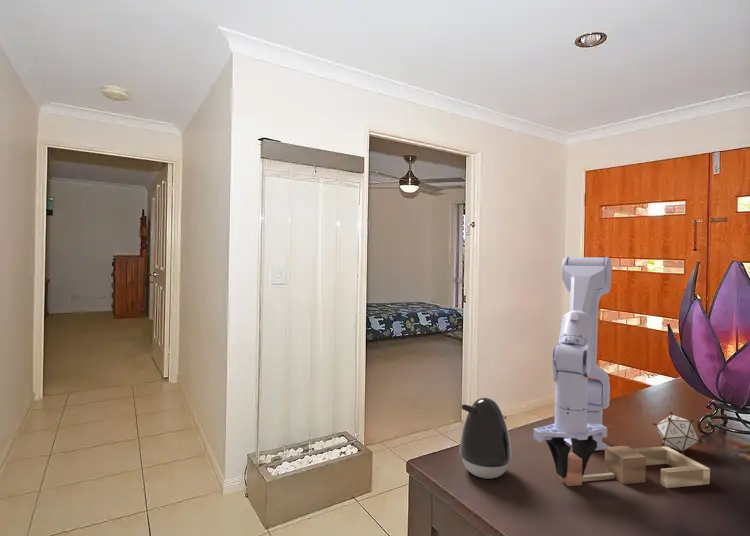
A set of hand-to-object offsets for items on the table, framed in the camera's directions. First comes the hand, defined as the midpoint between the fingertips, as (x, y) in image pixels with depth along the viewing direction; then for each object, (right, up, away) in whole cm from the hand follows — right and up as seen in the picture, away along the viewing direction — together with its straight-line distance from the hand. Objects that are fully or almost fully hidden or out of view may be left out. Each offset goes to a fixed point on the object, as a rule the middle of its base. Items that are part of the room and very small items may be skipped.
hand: (569, 474), depth 83 cm
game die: (+31, -2, +14) cm, 34 cm away
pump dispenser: (-16, -2, +3) cm, 16 cm away
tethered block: (+6, -1, +1) cm, 7 cm away
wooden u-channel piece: (+21, -1, +3) cm, 21 cm away
